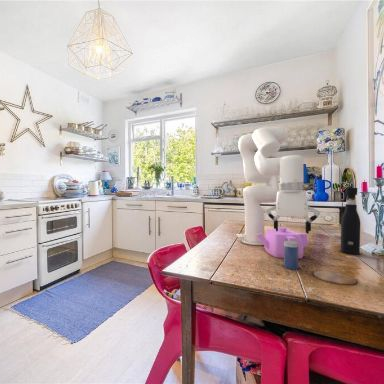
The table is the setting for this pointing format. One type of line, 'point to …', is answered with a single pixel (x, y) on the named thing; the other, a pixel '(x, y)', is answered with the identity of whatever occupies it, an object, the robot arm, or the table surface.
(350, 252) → the black water bottle
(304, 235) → the teakettle
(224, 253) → the table surface
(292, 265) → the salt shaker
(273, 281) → the table surface
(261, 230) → the robot arm
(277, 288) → the table surface
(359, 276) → the table surface
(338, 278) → the coaster
